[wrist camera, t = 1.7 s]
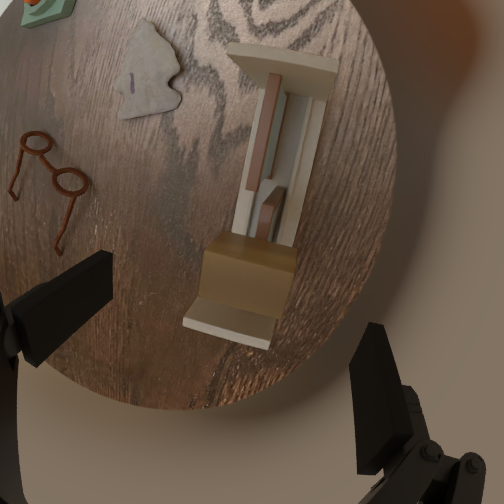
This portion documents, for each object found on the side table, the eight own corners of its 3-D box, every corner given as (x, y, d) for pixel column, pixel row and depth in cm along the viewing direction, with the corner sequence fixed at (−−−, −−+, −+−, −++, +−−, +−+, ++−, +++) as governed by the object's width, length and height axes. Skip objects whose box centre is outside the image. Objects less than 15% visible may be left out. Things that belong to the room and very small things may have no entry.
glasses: (97, 186, 34) (70, 193, 29) (61, 256, 38) (39, 269, 34) (43, 128, 32) (17, 130, 28) (15, 199, 37) (-8, 206, 32)
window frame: (265, 83, 27) (229, 38, 14) (327, 96, 26) (340, 57, 13) (231, 256, 33) (182, 328, 20) (285, 270, 33) (267, 352, 20)
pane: (253, 179, 27) (210, 208, 16) (308, 192, 27) (306, 232, 15) (238, 256, 30) (193, 328, 19) (288, 269, 30) (272, 350, 18)
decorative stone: (125, 121, 31) (112, 124, 28) (114, 30, 26) (100, 27, 23) (192, 107, 30) (182, 108, 27) (180, 9, 24) (169, 2, 22)
